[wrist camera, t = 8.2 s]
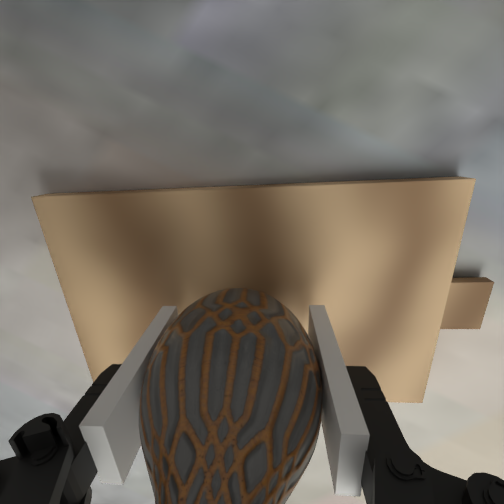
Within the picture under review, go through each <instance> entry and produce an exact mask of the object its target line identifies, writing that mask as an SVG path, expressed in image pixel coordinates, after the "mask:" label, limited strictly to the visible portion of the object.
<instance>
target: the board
mask: <svg viewBox="0 0 504 504" xmlns="http://www.w3.org/2000/svg"><path fill="white" fill-rule="evenodd" d="M475 180H476V179H474V178H466V177H435V178H412V179H388V180H364V181H340V182H316V183H292V184H268V185H245V186H221V187H197V188H173V189H149V190H125V191H102V192H78V193H54V194H45V195H39V196H34V197H31V198H32V201H33V204H34V207H35V210H36V213H37V216H38V219H39V222H40V225H41V228H42V231H43V234H44V237H45V240H46V243H47V246H48V249H49V252H50V255H51V258H52V261H53V264H54V267H55V270H56V273H57V276H58V279H59V281H60V284H61V287H62V290H63V293H64V296H65V299H66V302H67V305H68V308H69V311H70V314H71V317H72V320H73V323H74V326H75V329H76V332H77V335H78V338H79V341H80V344H81V347H82V350H83V353H84V356H85V359H86V362H87V365H88V367H89V370H90V373H91V376H92V379H93V382H94V381H95V380H96V379H97V377H98V376H99V375H100V373H102V372H103V371H104V370H105V369H107V368H108V367H109V366H110V365H112V364H122V363H123V362H124V361H125V359H126V358H127V356H128V355H129V353H130V352H131V351H132V349H133V348H134V346H135V345H136V343H137V342H138V341H139V339H140V338H141V336H142V335H143V333H144V332H145V331H146V329H147V328H148V326H149V325H150V323H151V322H152V321H153V319H154V318H155V316H156V315H157V313H158V312H159V311H160V309H161V308H162V306H177V310H178V315H179V314H180V313H181V312H182V311H183V310H184V309H186V308H187V307H188V306H189V305H191V304H192V303H194V302H195V301H197V300H198V299H200V298H202V297H203V296H206V295H208V294H210V293H213V292H216V291H219V290H223V289H229V288H246V289H252V290H257V291H260V292H263V293H265V294H268V295H270V296H272V297H273V298H275V299H277V300H278V301H279V302H281V303H282V304H283V305H285V306H286V307H287V308H288V309H289V310H290V311H291V312H292V313H293V314H294V315H295V316H296V318H297V319H298V320H299V321H300V323H301V324H302V326H303V327H304V329H305V331H306V332H307V334H308V323H309V305H324V306H325V308H326V311H327V314H328V317H329V320H330V323H331V326H332V328H333V331H334V334H335V337H336V340H337V343H338V346H339V348H340V351H341V354H342V357H343V360H344V363H345V366H366V367H367V368H368V369H369V370H370V371H371V372H372V374H373V375H374V376H375V377H376V379H377V381H378V383H379V385H380V387H381V391H382V392H383V394H384V396H385V398H386V401H387V402H405V403H422V402H423V398H424V393H425V389H426V385H427V381H428V377H429V373H430V368H431V364H432V360H433V356H434V352H435V347H436V343H437V339H438V335H439V331H440V329H480V327H481V324H482V321H483V317H484V314H485V311H486V307H487V304H488V301H489V297H490V294H491V291H492V288H493V284H494V282H493V281H491V280H489V279H488V278H486V277H468V278H452V276H453V272H454V268H455V264H456V260H457V256H458V251H459V247H460V243H461V239H462V235H463V231H464V226H465V222H466V218H467V214H468V210H469V206H470V201H471V197H472V193H473V189H474V185H475Z"/></svg>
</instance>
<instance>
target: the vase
mask: <svg viewBox="0 0 504 504" xmlns="http://www.w3.org/2000/svg"><path fill="white" fill-rule="evenodd" d="M322 403H323V392H322V379H321V374H320V368H319V364H318V360H317V357H316V354H315V351H314V348H313V345H312V342H311V340H310V338H309V336H308V334H307V332H306V331H305V329H304V327H303V326H302V324H301V323H300V321H299V320H298V319H297V318H296V316H295V315H294V314H293V313H292V312H291V311H290V310H289V309H288V308H287V307H286V306H285V305H283V304H282V303H281V302H279V301H278V300H277V299H275V298H273V297H272V296H270V295H268V294H265V293H263V292H260V291H257V290H252V289H246V288H229V289H223V290H219V291H216V292H213V293H210V294H208V295H206V296H203V297H202V298H200V299H198V300H197V301H195V302H194V303H192V304H191V305H189V306H188V307H187V308H186V309H184V310H183V311H182V312H181V313H180V314H179V315H178V316H177V317H176V318H175V319H174V320H173V322H172V323H171V324H170V326H169V327H168V328H167V330H166V331H165V332H164V334H163V336H162V337H161V339H160V340H159V342H158V344H157V346H156V348H155V350H154V351H153V353H152V356H151V358H150V361H149V363H148V366H147V369H146V372H145V376H144V380H143V385H142V390H141V395H140V403H139V433H140V440H141V445H142V450H143V454H144V458H145V462H146V466H147V470H148V474H149V477H150V481H151V485H152V488H153V492H154V497H155V504H285V502H286V501H287V499H288V498H289V496H290V495H291V493H292V491H293V490H294V488H295V486H296V485H297V483H298V481H299V480H300V478H301V477H302V475H303V473H304V471H305V469H306V468H307V466H308V464H309V462H310V459H311V457H312V455H313V452H314V450H315V446H316V443H317V439H318V435H319V430H320V424H321V416H322Z"/></svg>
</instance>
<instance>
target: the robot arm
mask: <svg viewBox="0 0 504 504" xmlns="http://www.w3.org/2000/svg"><path fill="white" fill-rule="evenodd" d="M177 316H178V310H177V306H162V308H161V309H160V311H159V312H158V313H157V315H156V316H155V318H154V319H153V321H152V322H151V323H150V325H149V326H148V328H147V329H146V331H145V332H144V333H143V335H142V336H141V338H140V339H139V341H138V342H137V343H136V345H135V346H134V348H133V349H132V351H131V352H130V353H129V355H128V356H127V358H126V359H125V361H124V362H123V363H122V364H112V365H110V366H109V367H108V368H107V369H105V370H104V371H103V372H102V373H100V375H99V376H98V377H97V379H96V380H95V381H94V382H93V384H92V386H90V388H89V389H88V390H87V392H86V393H85V396H83V397H82V398H81V399H80V401H79V402H78V403H77V405H76V406H75V407H74V408H73V410H72V411H71V412H70V414H69V415H68V416H67V418H66V419H65V420H64V421H63V420H62V418H61V417H60V415H58V414H55V413H49V414H44V415H41V416H38V417H36V418H34V419H32V420H30V421H29V422H27V423H25V424H24V425H23V426H22V427H21V428H19V429H18V430H17V431H16V432H15V433H14V434H13V436H12V437H11V438H10V440H9V443H10V445H11V447H12V449H13V451H14V452H15V454H16V456H15V457H11V458H8V459H4V460H1V461H0V504H90V502H91V498H92V490H91V487H90V485H91V483H92V481H93V479H94V477H95V476H96V474H98V476H99V479H100V481H101V484H120V485H123V484H124V482H125V479H126V477H127V475H128V473H129V470H130V468H131V466H132V464H133V461H134V459H135V457H136V455H137V452H138V450H139V448H140V446H141V440H140V433H139V403H140V395H141V390H142V385H143V380H144V376H145V372H146V369H147V366H148V363H149V361H150V358H151V356H152V353H153V351H154V350H155V348H156V346H157V344H158V342H159V340H160V339H161V337H162V336H163V334H164V332H165V331H166V330H167V328H168V327H169V326H170V324H171V323H172V322H173V320H174V319H175V318H176V317H177ZM308 336H309V338H310V340H311V342H312V345H313V348H314V351H315V354H316V357H317V360H318V364H319V368H320V374H321V379H322V392H323V403H322V416H321V422H322V428H323V433H324V438H325V444H326V449H327V454H328V460H329V465H330V470H331V476H332V481H333V486H334V492H335V495H343V496H360V495H361V488H363V492H364V496H365V499H366V503H367V504H504V480H502V479H500V478H499V477H497V476H494V475H491V474H487V473H474V474H473V475H471V476H470V477H469V478H468V480H467V481H466V480H463V479H461V478H458V477H455V476H452V475H449V474H447V473H444V472H441V471H439V470H437V469H434V468H432V467H430V466H429V465H427V464H426V463H424V462H423V461H422V460H421V458H420V457H419V456H418V455H417V454H416V453H414V452H413V451H412V450H411V449H410V448H409V446H408V444H407V443H406V441H405V439H404V437H403V435H402V432H401V430H400V428H399V426H398V424H397V422H396V420H395V417H394V415H393V413H392V411H391V409H390V407H389V404H388V402H387V401H386V398H385V396H384V394H383V392H382V391H381V387H380V385H379V383H378V381H377V379H376V377H375V376H374V375H373V374H372V372H371V371H370V370H369V369H368V368H367V367H366V366H345V363H344V360H343V357H342V354H341V351H340V348H339V346H338V343H337V340H336V337H335V334H334V331H333V328H332V326H331V323H330V320H329V317H328V314H327V311H326V308H325V306H324V305H309V323H308Z"/></svg>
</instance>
